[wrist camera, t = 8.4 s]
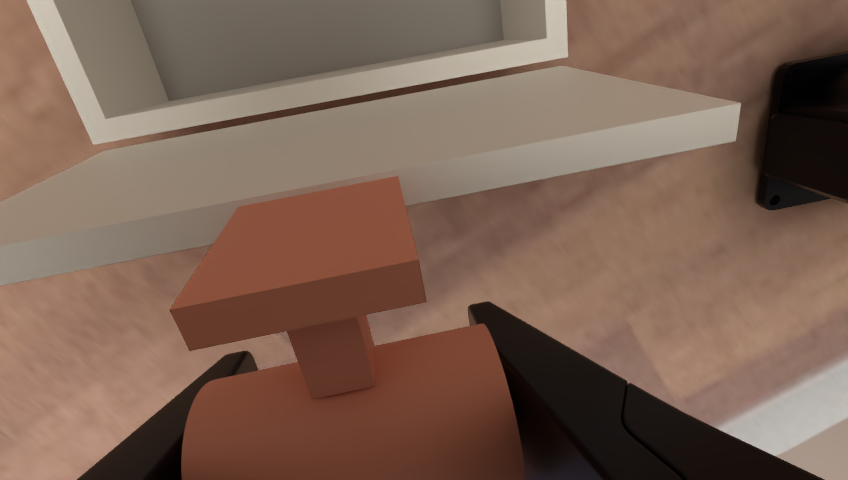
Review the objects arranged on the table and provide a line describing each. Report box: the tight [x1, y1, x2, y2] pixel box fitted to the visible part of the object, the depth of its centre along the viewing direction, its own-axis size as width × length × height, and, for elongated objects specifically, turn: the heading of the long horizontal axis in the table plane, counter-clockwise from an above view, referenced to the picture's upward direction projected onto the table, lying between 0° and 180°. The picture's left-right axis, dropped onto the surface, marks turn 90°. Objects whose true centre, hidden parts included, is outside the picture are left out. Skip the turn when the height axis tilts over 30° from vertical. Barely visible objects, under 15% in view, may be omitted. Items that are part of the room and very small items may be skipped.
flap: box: [0, 65, 741, 480], centre depth 10 cm, size 13×10×4 cm
